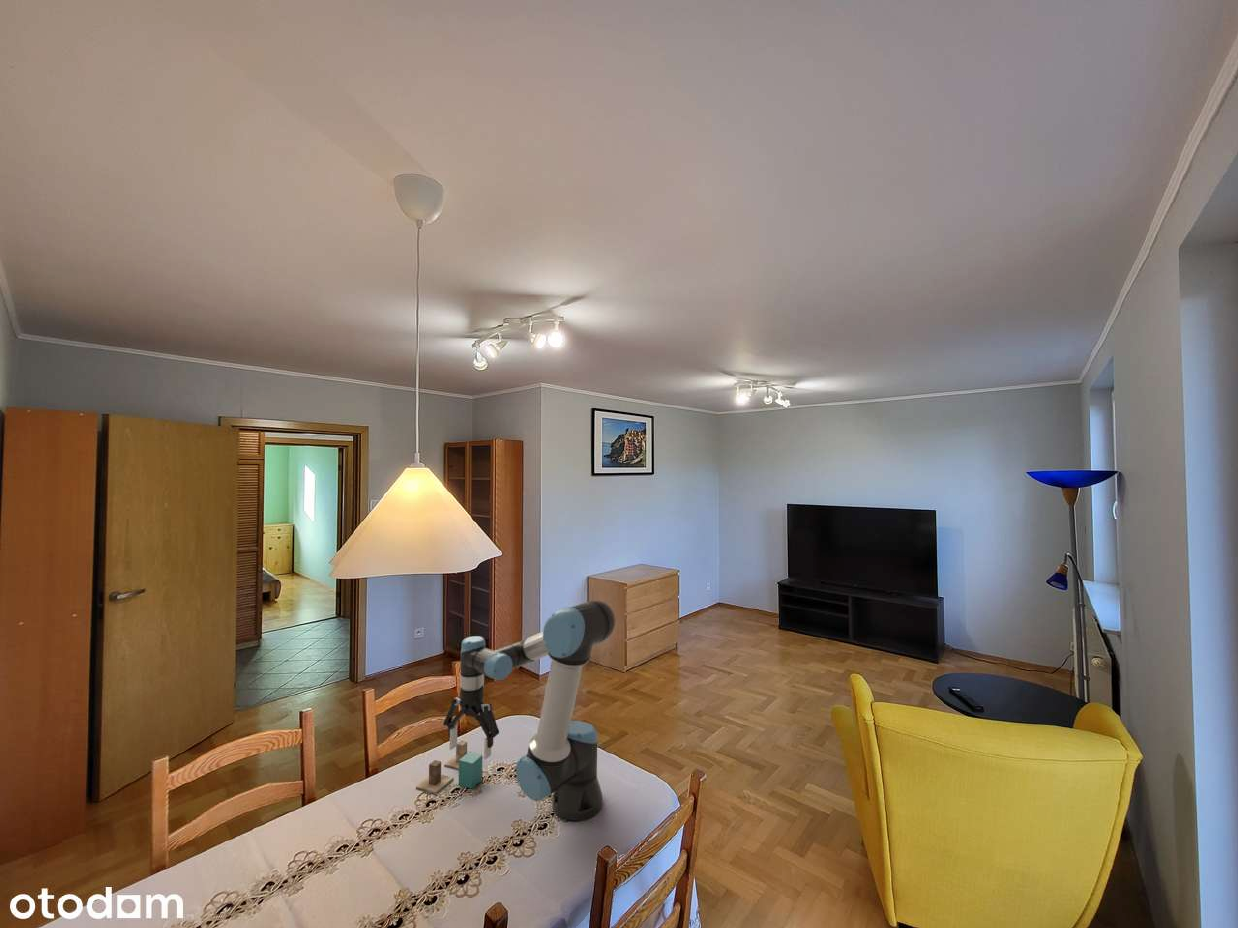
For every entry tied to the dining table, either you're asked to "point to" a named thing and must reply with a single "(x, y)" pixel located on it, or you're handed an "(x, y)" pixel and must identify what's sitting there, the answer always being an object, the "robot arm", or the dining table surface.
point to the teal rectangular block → (470, 769)
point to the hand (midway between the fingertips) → (470, 752)
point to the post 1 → (434, 779)
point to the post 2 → (457, 755)
